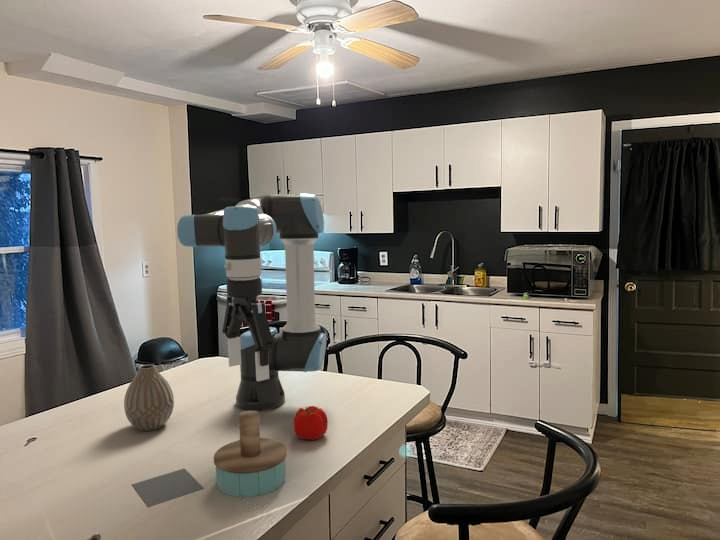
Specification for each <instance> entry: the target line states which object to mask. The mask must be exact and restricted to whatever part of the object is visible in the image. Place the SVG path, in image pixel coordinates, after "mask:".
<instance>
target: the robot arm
mask: <svg viewBox="0 0 720 540" xmlns="http://www.w3.org/2000/svg"><path fill="white" fill-rule="evenodd" d="M324 218H325V217H324V212H323V208H322V205H321V201H320V200H319V198H318V197H317V195H315V194H313V193H311V194H310V193H289V194H287V193H286V194H284V193H283V194H265V195H263V194H262V195H259V196H255V197H252V198H248V199H244V200H241V201H239V202H238V203H237V204H235V206H227V207H225V208H224V209H221V210H216V211H212V212H209V213H205V214H190V215H189V214H188V215H183V216H181V217H180V218H179V220H178V222H177V226H176V232H177V238H178V241H179V243H180V244H181V245H182V247H183V246H184V247H190V248H200V247H201V248H203V247H204V248H207V247H208V248H209V247H224V254H225V255H224V258H225V259H224V260H225V263H224V265H223V267H224V269H225V277H228V279H226V294H227V296H226V308H225V314H224V319H223V325H222V333H223V334H225V336H226V338H227V351H228V352H227V353H228V354H227V355H228V366H229V368H231V367H235V366H239V368H240V369H239V370H240V382H239V386H238V389H237V392H236V396H235V404H236V405H235V406H236V407H238V408H239V409H240V410H244V411H257V412H259V411H267V410H272V409H275V408H278V407H281V406H282V405H283V404H284V403H285V402H286V394H285V391H284V388H283V385H282V382H281V379H280V376H279V372H304V373H307V372H308V373H309V372H318V371H319V370H320V369H321V368H322V366H323V363H324V360H325V355H326V351H327V350H326V349H327V335H326V334H325V333H324V332H321V326H320V325H319V324H318V323H317V322H316V301H315V299H316V295H315V260H314V259H315V254H314V252H315V251H314V250H315V249H314V248H315V247H314V246H315V243H316V242H317V241H318V240H319V234H321V233H323V231H324V228H325V227H324V225H325V221H324V220H325V219H324ZM277 234H279V240H280V241H281V242H282V243H283V244H284V254H285V255H284V256H285V258H284V259H285V261H284V262H285V291H286V293H285V294H286V324H285V325H284V326H283V327H282V328H281V329H282V330H281V331H282V332H278V330H277V328H276V327H272V326H269V325H270V324H269V320H268V317H267V312H266V306H265V305H266V304H265V302H259V303H258V302H257V298H258V296H261V295H262V294H263V284H262V283H263V282H262V278H261V277H260V276H261V275H262V259H261V257H262V256H261V247H264V246H266V245H268V244H269V243H270V242H272V241H273V240H274V239H275V237H276V235H277ZM243 323H244V324H245V325H247V326H248V329H249V330H247V331H245V332H243V333H242V334H241V332H240V330H241V328H242V325H243Z"/></svg>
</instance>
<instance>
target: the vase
mask: <svg viewBox="0 0 720 540" xmlns="http://www.w3.org/2000/svg"><path fill="white" fill-rule="evenodd" d="M174 397H175V396H174V393H173V390H172V387H171V385H170V384H169V382H168V380H166V378H165V377H164V376H163V375H162V374H161V373H160V372H159V371H158V369H157V367H156V365H155V364H152V363H151V364H149V363H148V364H144V365H143V364H142V365H139V366H138V370H137V373H136V375H134V378H133V379H132V380H131V382H130V383H129V385H128V387H127V389H126V391H125V394H124V400H123V408H124V414H125V417H126V419H127V420H128V422H129V423H130V424H131V425H132V426H133V427H135V428H136V429H137V430H139V431H142V432H149V431H154V430H156V431H157V430H158V429H160V428H162V427H164V425H165V424H166V423H167V422H168V421H169V419H170V418H171V416H172V414H173V412H174V407H175V406H174V405H175V400H174V399H175V398H174Z"/></svg>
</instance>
